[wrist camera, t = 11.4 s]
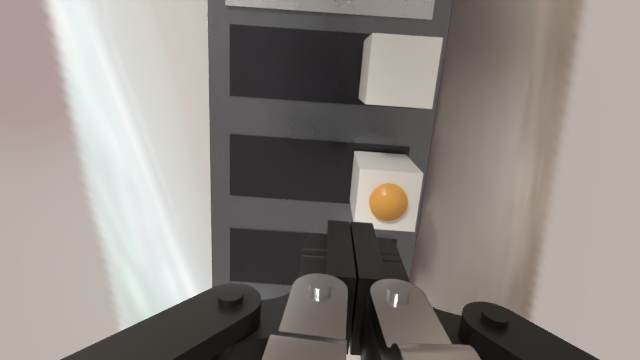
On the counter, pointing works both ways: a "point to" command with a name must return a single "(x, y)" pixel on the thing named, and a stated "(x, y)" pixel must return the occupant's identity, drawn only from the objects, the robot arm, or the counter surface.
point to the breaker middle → (385, 190)
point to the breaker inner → (399, 70)
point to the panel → (301, 126)
